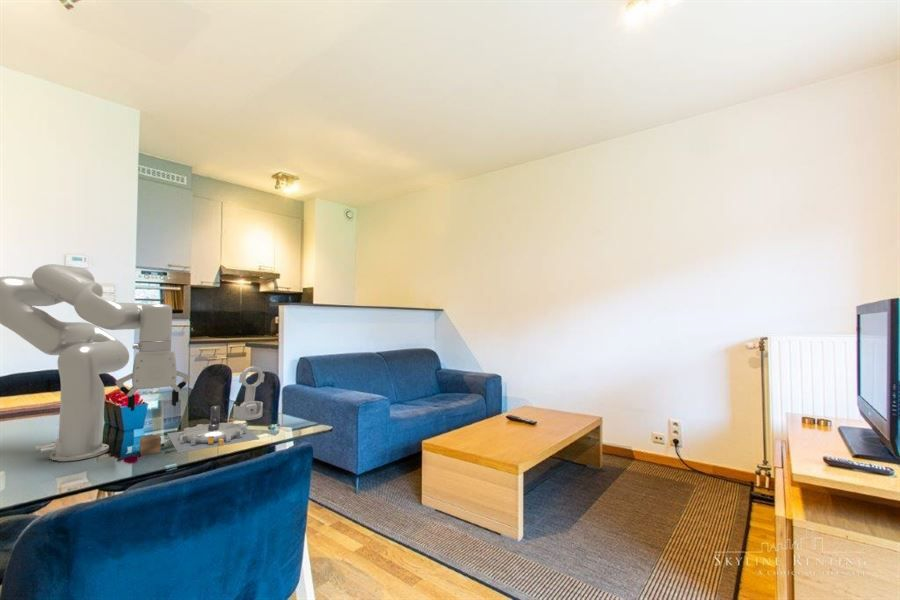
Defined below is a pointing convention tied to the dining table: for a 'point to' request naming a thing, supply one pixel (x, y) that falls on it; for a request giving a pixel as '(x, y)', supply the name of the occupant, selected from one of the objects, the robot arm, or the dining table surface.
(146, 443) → the link block
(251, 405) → the engine component
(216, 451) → the dining table surface
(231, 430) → the sprocket
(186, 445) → the base plate
